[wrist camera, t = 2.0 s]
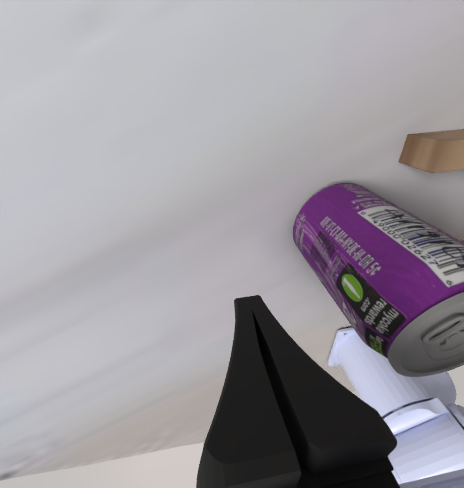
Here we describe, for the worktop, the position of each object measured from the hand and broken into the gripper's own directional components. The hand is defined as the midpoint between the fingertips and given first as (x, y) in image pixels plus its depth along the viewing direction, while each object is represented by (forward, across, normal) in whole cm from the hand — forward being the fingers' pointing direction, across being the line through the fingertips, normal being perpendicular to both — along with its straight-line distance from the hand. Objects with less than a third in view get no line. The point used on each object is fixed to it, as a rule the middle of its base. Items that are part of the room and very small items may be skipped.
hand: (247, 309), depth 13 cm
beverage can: (+9, -9, 0) cm, 12 cm away
